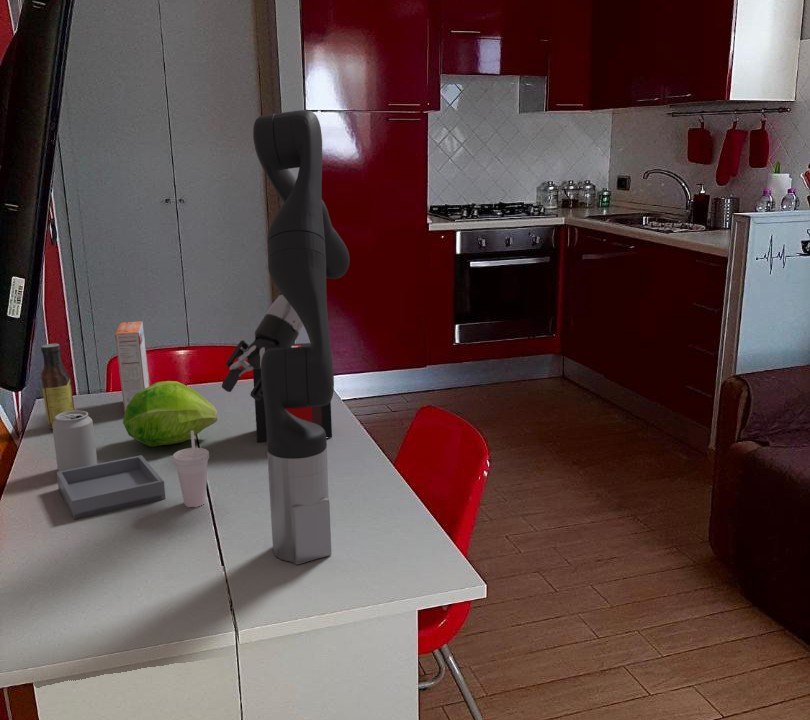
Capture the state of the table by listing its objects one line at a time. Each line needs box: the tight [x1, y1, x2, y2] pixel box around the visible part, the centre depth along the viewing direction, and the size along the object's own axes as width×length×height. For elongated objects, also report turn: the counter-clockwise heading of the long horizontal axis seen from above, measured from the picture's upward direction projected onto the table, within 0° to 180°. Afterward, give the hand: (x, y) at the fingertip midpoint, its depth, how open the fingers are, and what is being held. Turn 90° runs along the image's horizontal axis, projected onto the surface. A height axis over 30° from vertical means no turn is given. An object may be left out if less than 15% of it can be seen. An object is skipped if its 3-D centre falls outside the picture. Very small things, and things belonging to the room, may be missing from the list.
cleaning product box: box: [252, 342, 333, 444], centre depth 182 cm, size 16×9×20 cm, turn 99°
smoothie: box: [172, 430, 211, 508], centre depth 146 cm, size 6×6×14 cm
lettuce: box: [122, 380, 219, 448], centre depth 178 cm, size 15×20×14 cm
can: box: [52, 410, 98, 472], centre depth 163 cm, size 8×8×12 cm
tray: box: [56, 454, 166, 520], centre depth 152 cm, size 16×16×4 cm
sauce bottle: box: [40, 343, 76, 430], centre depth 188 cm, size 7×6×20 cm
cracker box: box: [114, 320, 151, 414], centre depth 203 cm, size 14×6×21 cm, turn 14°
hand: (239, 393), depth 152 cm, fingers open, 8 cm apart
